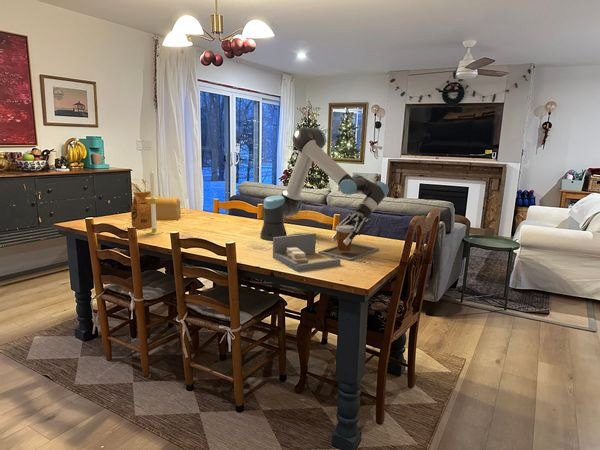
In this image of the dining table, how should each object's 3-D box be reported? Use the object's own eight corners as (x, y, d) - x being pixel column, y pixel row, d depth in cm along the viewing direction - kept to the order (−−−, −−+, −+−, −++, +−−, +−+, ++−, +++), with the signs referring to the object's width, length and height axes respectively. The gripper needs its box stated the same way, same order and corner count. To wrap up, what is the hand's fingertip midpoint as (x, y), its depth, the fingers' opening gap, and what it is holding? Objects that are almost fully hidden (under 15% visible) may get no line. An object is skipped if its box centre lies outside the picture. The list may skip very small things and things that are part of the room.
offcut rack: (272, 257, 199) (273, 237, 197) (313, 252, 210) (314, 233, 208) (296, 271, 180) (297, 248, 178) (340, 264, 191) (341, 243, 189)
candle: (167, 231, 246) (164, 167, 238) (154, 235, 237) (151, 168, 229) (154, 229, 250) (152, 166, 243) (141, 232, 242) (138, 167, 234)
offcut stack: (283, 258, 199) (283, 246, 198) (295, 257, 201) (295, 245, 200) (296, 269, 183) (297, 256, 182) (309, 268, 185) (309, 255, 184)
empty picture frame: (379, 248, 218) (347, 260, 195) (379, 251, 218) (347, 263, 195) (348, 242, 230) (315, 252, 207) (348, 245, 230) (314, 255, 207)
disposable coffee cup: (331, 248, 213) (332, 224, 210) (348, 246, 216) (349, 224, 213) (339, 253, 204) (340, 229, 201) (357, 251, 207) (358, 228, 205)
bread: (181, 217, 291) (180, 196, 288) (177, 220, 279) (176, 198, 276) (145, 216, 289) (144, 195, 286) (139, 220, 277) (138, 198, 274)
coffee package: (129, 226, 256) (127, 191, 252) (149, 224, 265) (147, 189, 261) (137, 229, 250) (135, 193, 245) (156, 226, 258) (155, 191, 254)
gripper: (384, 216, 205) (356, 251, 200) (357, 209, 223) (331, 241, 218) (376, 206, 201) (348, 241, 196) (349, 200, 219) (323, 232, 215)
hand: (339, 241), depth 207 cm, fingers closed on disposable coffee cup, 9 cm apart
